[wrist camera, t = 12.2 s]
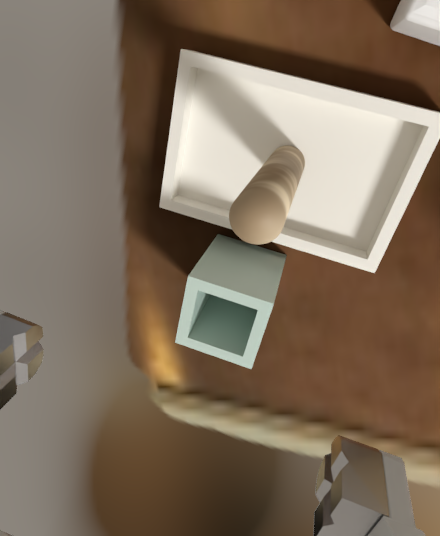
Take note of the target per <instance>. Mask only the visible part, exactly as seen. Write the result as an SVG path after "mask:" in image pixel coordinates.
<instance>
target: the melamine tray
mask: <svg viewBox="0 0 440 536" xmlns="http://www.w3.org/2000/svg"><path fill="white" fill-rule="evenodd" d="M439 139H440V112H439V111H435V110H431V109H427V108H423V107H419V106H415V105H411V104H407V103H403V102H399V101H395V100H391V99H387V98H383V97H378V96H374V95H370V94H366V93H362V92H358V91H354V90H350V89H346V88H342V87H338V86H334V85H330V84H326V83H322V82H318V81H314V80H310V79H306V78H302V77H298V76H294V75H290V74H286V73H282V72H278V71H274V70H270V69H266V68H261V67H257V66H253V65H249V64H245V63H241V62H237V61H233V60H229V59H225V58H221V57H217V56H213V55H209V54H205V53H201V52H197V51H193V50H187V49H181V51H180V58H179V66H178V73H177V80H176V88H175V95H174V102H173V110H172V117H171V124H170V132H169V139H168V146H167V153H166V161H165V168H164V175H163V183H162V190H161V197H160V205H159V207H160V208H163V209H167V210H170V211H173V212H176V213H180V214H183V215H186V216H190V217H193V218H196V219H199V220H203V221H206V222H209V223H212V224H216V225H219V226H222V227H225V228H229V229H232V228H231V225H230V221H229V212H230V208H231V206H232V204H233V202H234V201H235V199H236V198H237V197H238V196H239V194H240V193H241V192H242V191H243V189H244V188H245V187H246V186H247V184H248V183H249V182H250V181H251V179H252V178H253V177H254V176H255V174H256V173H257V172H258V171H259V169H260V168H261V167H262V166H263V164H264V163H265V162H266V161H267V159H268V158H269V157H270V156H271V154H272V153H273V152H274V151H275V150H276V149H277V148H279V147H281V146H285V145H290V146H294V147H296V148H298V149H299V150H300V151H301V152H302V154H303V156H304V159H305V167H304V170H303V173H302V176H301V179H300V181H299V184H298V187H297V190H296V193H295V196H294V198H293V201H292V204H291V207H290V210H289V213H288V215H287V218H286V221H285V224H284V227H283V229H282V231H281V233H280V234H279V236H278V237H277V238H276V239H274V240H273V241H271V242H274V243H278V244H281V245H284V246H287V247H291V248H294V249H297V250H301V251H304V252H307V253H310V254H314V255H317V256H320V257H323V258H327V259H330V260H333V261H336V262H340V263H343V264H346V265H350V266H353V267H356V268H359V269H363V270H366V271H369V272H372V273H375V271H376V269H377V267H378V265H379V263H380V261H381V259H382V257H383V255H384V253H385V251H386V248H387V246H388V244H389V242H390V240H391V238H392V236H393V234H394V232H395V230H396V228H397V226H398V224H399V222H400V219H401V217H402V215H403V213H404V211H405V209H406V207H407V205H408V203H409V201H410V199H411V197H412V195H413V193H414V190H415V188H416V186H417V184H418V182H419V180H420V178H421V176H422V174H423V172H424V170H425V168H426V166H427V163H428V161H429V159H430V157H431V155H432V153H433V151H434V149H435V147H436V145H437V143H438V141H439ZM232 230H233V229H232Z"/></svg>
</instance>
